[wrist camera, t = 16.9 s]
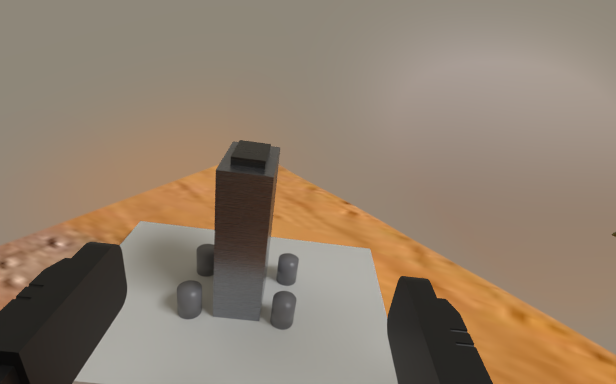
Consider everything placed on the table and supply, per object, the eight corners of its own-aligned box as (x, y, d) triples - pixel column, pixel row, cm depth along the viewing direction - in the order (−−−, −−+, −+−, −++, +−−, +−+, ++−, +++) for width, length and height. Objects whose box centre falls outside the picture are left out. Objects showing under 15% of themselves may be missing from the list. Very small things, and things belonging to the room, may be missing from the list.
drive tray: (366, 261, 35) (374, 231, 33) (404, 430, 21) (420, 391, 19) (141, 234, 34) (138, 202, 32) (15, 392, 20) (0, 348, 18)
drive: (266, 274, 29) (280, 140, 24) (259, 321, 24) (274, 168, 19) (227, 270, 29) (233, 134, 24) (212, 316, 24) (215, 161, 19)
